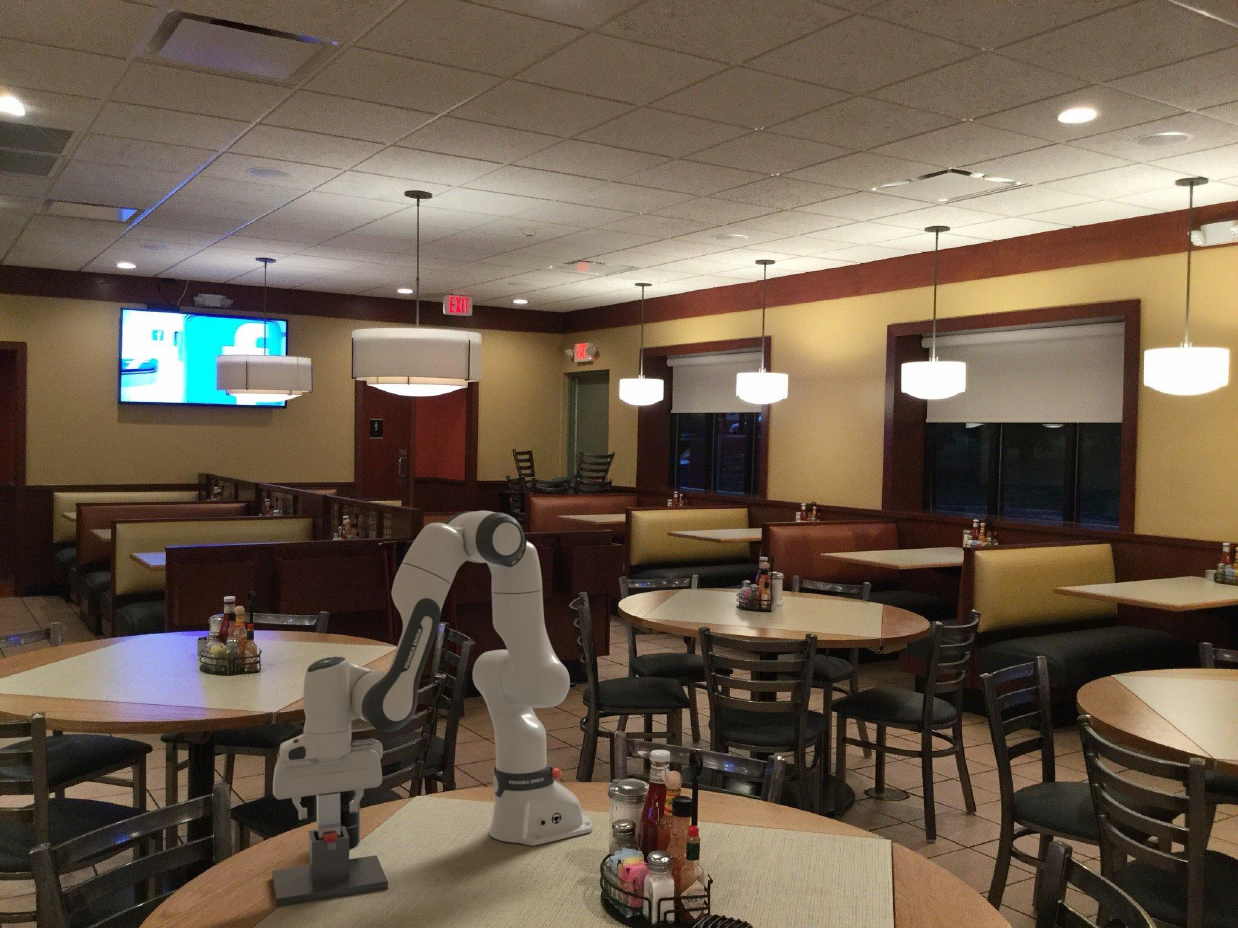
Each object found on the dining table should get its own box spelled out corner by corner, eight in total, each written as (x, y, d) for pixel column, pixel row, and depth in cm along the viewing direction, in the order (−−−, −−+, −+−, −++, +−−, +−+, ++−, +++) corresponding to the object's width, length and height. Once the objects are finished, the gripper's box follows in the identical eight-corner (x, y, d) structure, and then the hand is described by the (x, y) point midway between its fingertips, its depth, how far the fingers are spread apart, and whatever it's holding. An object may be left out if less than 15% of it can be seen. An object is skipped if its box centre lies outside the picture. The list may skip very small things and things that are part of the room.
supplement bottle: (351, 851, 212) (350, 793, 212) (320, 849, 214) (320, 792, 214) (365, 839, 219) (365, 783, 219) (336, 837, 221) (335, 782, 221)
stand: (376, 862, 206) (376, 810, 206) (387, 888, 193) (387, 833, 193) (272, 878, 199) (271, 824, 199) (276, 906, 186) (276, 849, 186)
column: (338, 868, 199) (338, 786, 199) (341, 876, 195) (340, 793, 195) (317, 872, 197) (316, 789, 197) (319, 880, 193) (318, 795, 193)
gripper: (380, 733, 203) (380, 802, 203) (271, 745, 195) (272, 817, 195) (385, 741, 197) (385, 812, 197) (273, 753, 189) (274, 827, 189)
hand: (328, 815), depth 196 cm, fingers open, 8 cm apart
